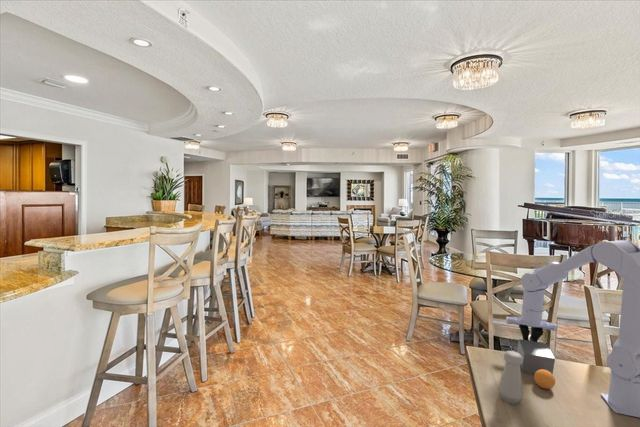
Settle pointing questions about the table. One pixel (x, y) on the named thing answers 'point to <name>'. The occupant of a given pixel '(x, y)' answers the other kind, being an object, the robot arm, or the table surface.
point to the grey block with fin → (535, 356)
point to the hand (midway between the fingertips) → (528, 347)
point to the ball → (544, 379)
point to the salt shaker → (511, 378)
